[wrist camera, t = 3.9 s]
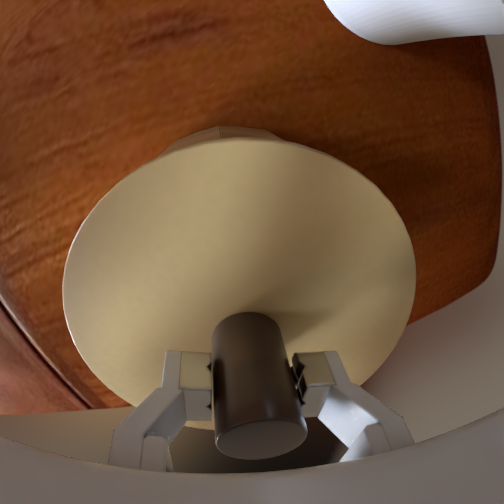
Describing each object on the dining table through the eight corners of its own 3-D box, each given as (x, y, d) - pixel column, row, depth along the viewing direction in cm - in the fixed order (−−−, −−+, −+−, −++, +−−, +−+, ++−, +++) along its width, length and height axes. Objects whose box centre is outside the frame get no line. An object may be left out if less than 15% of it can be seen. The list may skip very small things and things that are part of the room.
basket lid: (441, 168, 10) (550, 227, 5) (348, 405, 17) (378, 483, 12) (54, 132, 8) (-65, 181, 3) (106, 405, 15) (90, 493, 10)
